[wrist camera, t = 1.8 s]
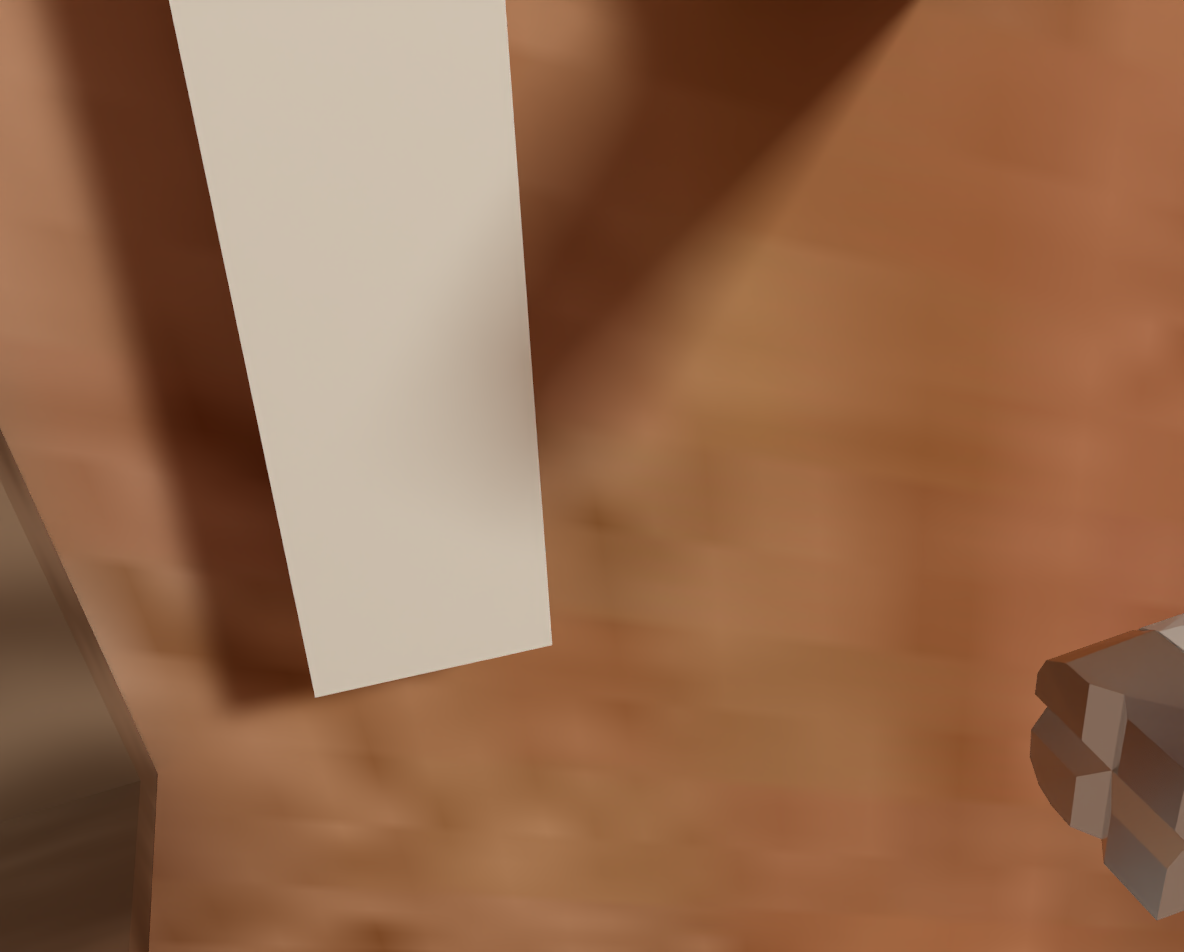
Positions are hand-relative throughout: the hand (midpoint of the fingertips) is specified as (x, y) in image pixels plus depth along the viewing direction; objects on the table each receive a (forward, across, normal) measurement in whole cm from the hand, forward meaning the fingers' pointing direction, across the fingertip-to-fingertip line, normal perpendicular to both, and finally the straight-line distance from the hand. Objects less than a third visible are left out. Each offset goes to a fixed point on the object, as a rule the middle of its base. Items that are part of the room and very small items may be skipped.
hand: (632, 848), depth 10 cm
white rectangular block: (+20, 0, 0) cm, 20 cm away
